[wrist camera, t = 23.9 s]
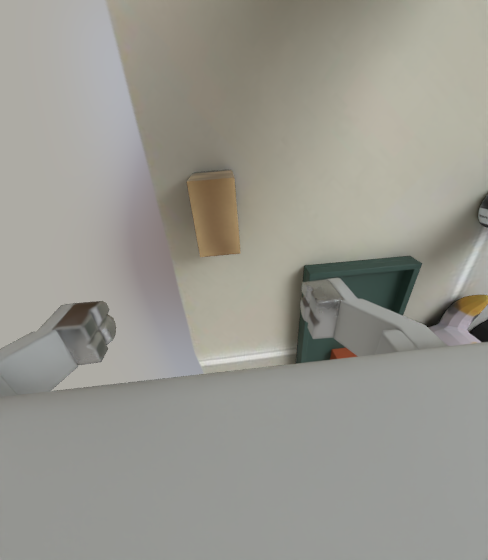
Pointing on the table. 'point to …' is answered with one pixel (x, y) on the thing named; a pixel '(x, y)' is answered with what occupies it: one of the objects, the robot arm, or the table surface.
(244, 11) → the table surface
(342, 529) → the robot arm
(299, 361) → the tray
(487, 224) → the pill bottle
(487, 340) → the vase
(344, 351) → the orange red square block
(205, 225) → the tan brown block
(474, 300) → the figurine
